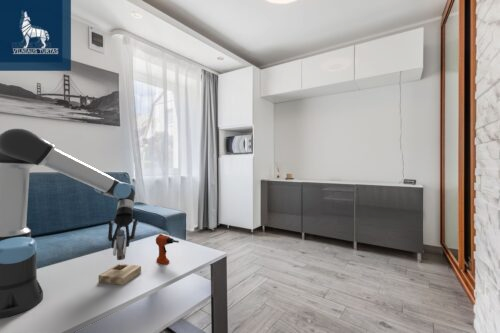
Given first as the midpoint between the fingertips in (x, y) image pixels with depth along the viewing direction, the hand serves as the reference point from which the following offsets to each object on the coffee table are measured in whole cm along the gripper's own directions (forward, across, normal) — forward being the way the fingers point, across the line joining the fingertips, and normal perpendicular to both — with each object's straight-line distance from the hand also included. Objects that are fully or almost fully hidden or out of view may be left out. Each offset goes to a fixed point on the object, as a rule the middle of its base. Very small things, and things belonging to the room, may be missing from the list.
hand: (119, 253), depth 107 cm
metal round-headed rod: (0, 0, -5) cm, 5 cm away
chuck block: (+7, 0, -8) cm, 11 cm away
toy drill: (+3, -20, -13) cm, 24 cm away
